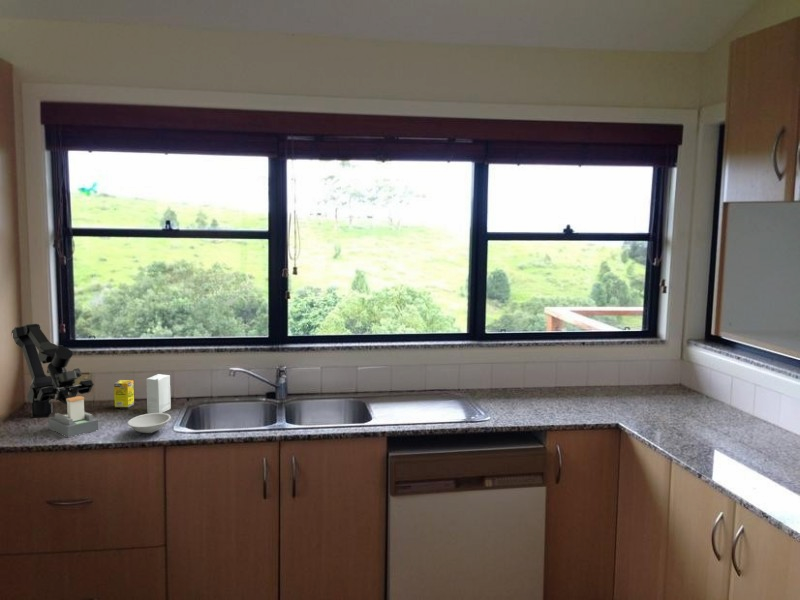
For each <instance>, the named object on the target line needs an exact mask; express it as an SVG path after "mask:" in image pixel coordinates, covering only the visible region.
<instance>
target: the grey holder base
mask: <svg viewBox="0 0 800 600" xmlns="http://www.w3.org/2000/svg"><path fill="white" fill-rule="evenodd" d="M84 415H85V419H82V420H77V421H73V419H71V418H69V417H68V413H66V414H62V413H60V412H55V413H54V417H48V428H50V429H49V430H51V429H52V430H51V431H53V430H54V431H53V432H55V431H56V432H55V433H57V432H58V434H59V433H60V435H61V434H63V435H62V436H64V435H65V436H64V437H66V436H67V437H66V438H68V437H69V438H72V437H71V436H73V437H76V436H75V435H77V436H80V435H79V434H82V435H84V434H83V433H86V434H89V433H88V432H90V433H93V432H92V431H94V432H97V431H96V430H98V431H99V420H98V419H97V418H94V417H93V414H91V413H90V412H88V411H87V412H86V411H84Z"/></svg>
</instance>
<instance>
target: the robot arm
mask: <svg viewBox="0 0 800 600" xmlns="http://www.w3.org/2000/svg"><path fill="white" fill-rule="evenodd" d="M12 333H13V338H12V339H13V340H14V343H15V344H16V345H17V346H18V347H20V348H21V349H22V352H23V354H24V355H23V356H24V359H25V360H26V364H27V367H28V371H29V373H30V376H31V383H30V385H29V391H28V393H27V396H26V397H27V401H28V402H29V403H31V412H32V413H31V416H30V418H45V417H48V418H49V417H50V416H51V415H52V414H53V413H54V405H53V402H52V400H56V401H59V402H61V403H63V404H64V405H65V406H67V401H66V399H67V398H72V397H77V395H78V394H79V395H83V394H89V393H90V392H91V390H92V389H93V387H94V385H95V383H94V382H93V381H94V380H92V379H85V380H80V382H79V383H78V384H76V385H74V384H75V383H76V380H77V379H78V378H80V377H81V376H82V372H81V369H80V368H79V367H78V368H74V369H72V370H68V371H67V369H66V367H68V365H69V363H70V361H71V359H72V357H73V352H72V350H70V349H69V348H67V347H64V345H57V344H56V343H52V342H51V341H50V340H49V339H48V337H47V336H46V335H45V333H44V332H43V331H42V329H41V326H40V324H39V323H29V324H27V323H26V325H23V326H15V327H14V328H13V329H12V330H11V334H12ZM43 364H44V365H45V364H48V365H47V367H46V369H47V370H46V373H47V374H49V375H47V374H45V370H44V368H43Z"/></svg>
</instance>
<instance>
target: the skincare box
mask: <svg viewBox="0 0 800 600" xmlns="http://www.w3.org/2000/svg"><path fill="white" fill-rule="evenodd" d="M145 380H146V403H147V404H146V408H147V409H146V410H147V413H146V414H149V413H165V412H167V411H169V410H171V407H172V405H171V404H172V403H171V402H172V401H171V400H172V399H171V375H170V374H161V373H157V374H155V375H152V376H150V377H147V378H146V379H145Z"/></svg>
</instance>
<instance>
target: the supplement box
mask: <svg viewBox="0 0 800 600" xmlns="http://www.w3.org/2000/svg"><path fill="white" fill-rule="evenodd" d="M134 387H135V386H134V380H133V379H132V380H131V379H130V380H129V379H127V380H126V379H119V380H118V381H117V382H114V383H113V392H114V393H113V395H114V397H113V398H114V399H113V400H114V409H116V408H120V409H122V410H123V409H124V410H125V409H128V408H129V409H130V408H132V407H133V406H135V395H134V394H135V391H134ZM120 409H119V410H120ZM129 409H128V410H129Z"/></svg>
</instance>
